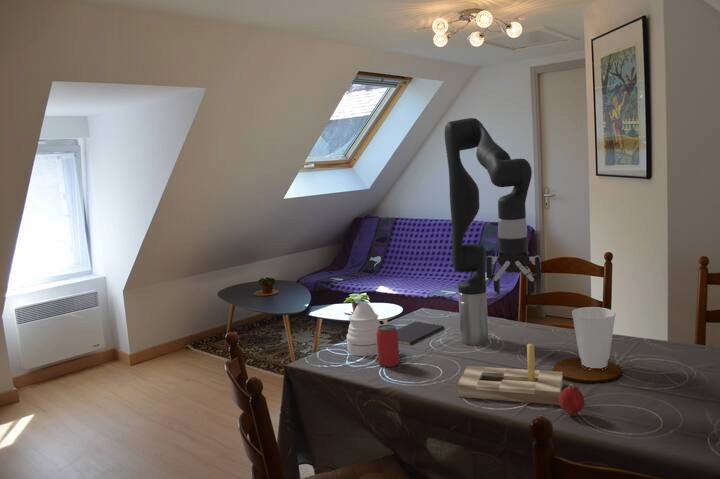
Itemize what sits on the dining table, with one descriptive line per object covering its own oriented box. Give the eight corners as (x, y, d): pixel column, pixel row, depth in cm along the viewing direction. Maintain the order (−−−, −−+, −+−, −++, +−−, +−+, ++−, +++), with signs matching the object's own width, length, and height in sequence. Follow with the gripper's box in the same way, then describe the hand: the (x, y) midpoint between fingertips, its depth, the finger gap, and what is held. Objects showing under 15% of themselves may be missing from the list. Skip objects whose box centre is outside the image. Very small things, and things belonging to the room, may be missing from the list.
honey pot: (341, 355, 204) (337, 302, 201) (355, 342, 216) (351, 292, 213) (378, 357, 199) (374, 303, 197) (390, 344, 211) (386, 293, 209)
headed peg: (524, 388, 166) (523, 342, 164) (540, 389, 165) (539, 342, 163) (522, 394, 162) (521, 347, 161) (539, 395, 161) (538, 348, 159)
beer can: (398, 367, 188) (395, 330, 187) (377, 367, 190) (374, 330, 188) (400, 360, 195) (398, 323, 193) (380, 360, 196) (378, 324, 194)
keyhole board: (467, 377, 177) (467, 366, 176) (562, 383, 167) (562, 371, 167) (457, 396, 164) (457, 384, 163) (560, 404, 155) (559, 392, 154)
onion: (555, 411, 151) (554, 380, 150) (578, 409, 151) (577, 378, 150) (565, 421, 145) (564, 389, 144) (588, 419, 146) (588, 387, 145)
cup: (622, 363, 179) (622, 310, 177) (606, 376, 171) (606, 320, 168) (582, 356, 187) (581, 305, 185) (565, 367, 179) (564, 314, 176)
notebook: (410, 346, 209) (444, 329, 225) (410, 342, 209) (443, 325, 225) (381, 341, 217) (415, 325, 233) (380, 336, 217) (415, 321, 233)
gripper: (541, 231, 164) (542, 290, 167) (487, 232, 169) (489, 289, 172) (539, 237, 157) (541, 298, 160) (483, 237, 162) (485, 297, 165)
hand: (514, 293), depth 166 cm, fingers open, 8 cm apart
